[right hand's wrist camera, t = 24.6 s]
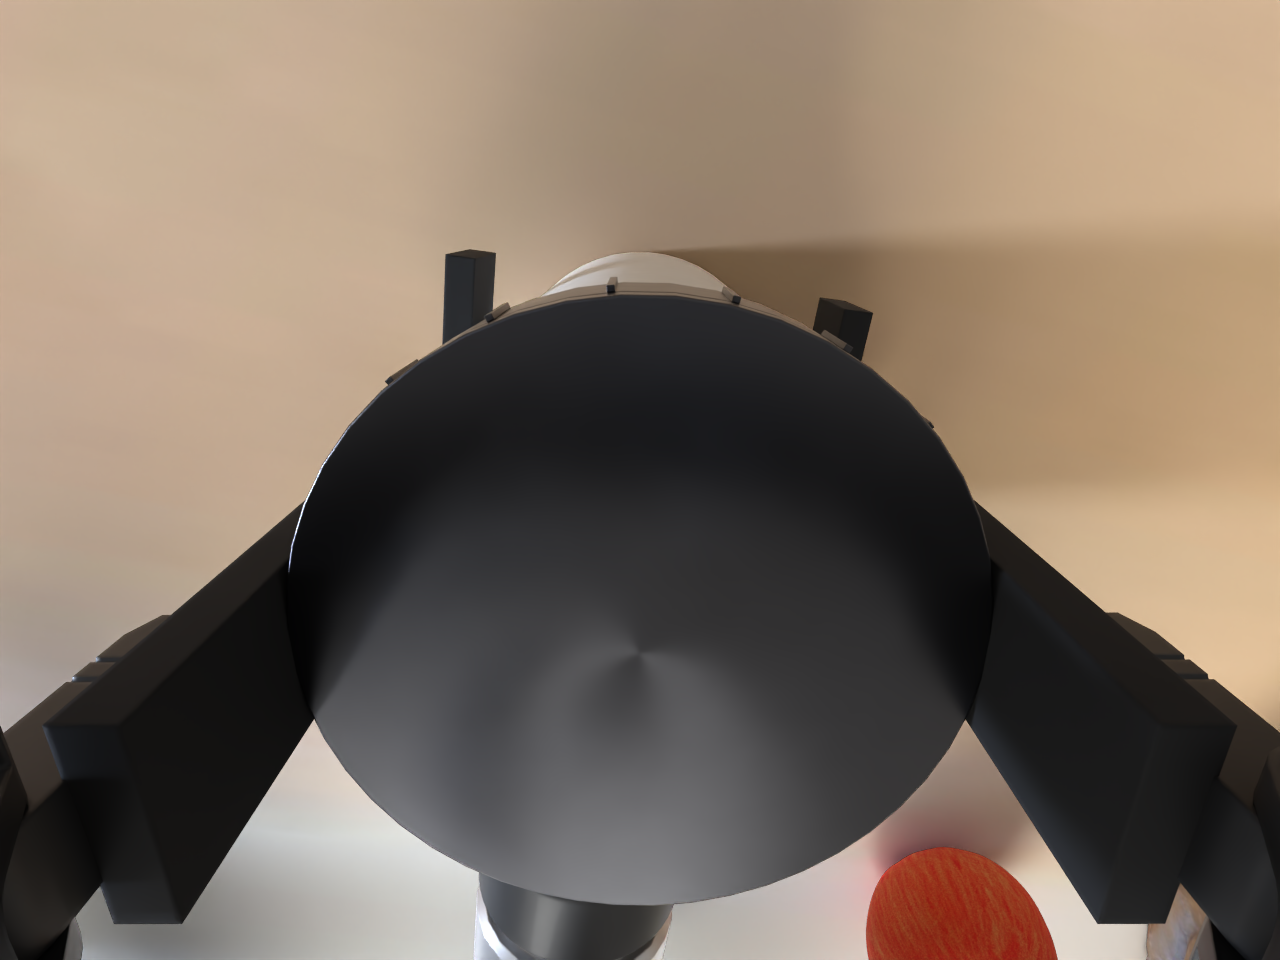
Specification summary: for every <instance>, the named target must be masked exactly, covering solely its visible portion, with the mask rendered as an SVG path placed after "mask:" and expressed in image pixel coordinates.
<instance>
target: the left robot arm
mask: <svg viewBox="0 0 1280 960" xmlns="http://www.w3.org/2000/svg"><path fill="white" fill-rule="evenodd" d="M495 259H496V253H492V252H485V251H478V250H471V249H469V250H464V251H459V252H455V253H450V254H446V259H445V288H444V317H443V344H445V343H446V342H448V341H449V340H451V339H452V338H454V337H456V336H457V335H459V334H461V333H463V332H464V331H466V330H468V329H469V328H471V327H473V326H475V325H476V324H478V323H480V322H481V321H483V320H485V317H484V316H485V315H486V314H488V313H490V312H491V311H493V294H494V276H495ZM872 315H873V313H872V312H870V311H867V310H865V309H862V308H860V307H858V306H855V305H853V304H851V303H848V302H846V301H841V300H834V299H826V298H820V299H819V304H818V308H817V313H816V318H815V322H814V327H813V330H814V331H815V332H817V333H818V334H820V335H821V334H822V332H823V331H824V330H826V331H827V332H829V333H830V334H832V335H834V336H835V337H837V338H838V339H840V340H842V341H843V342H845V343H846V344H848V345H850V346H851V347H853V349H852V350H851V352H850V353H849V354H850V355H852V356H853V357H855V358H856V359H858V360H859V361H861V360H862V356H863V352H864V348H865V344H866V340H867V336H868V331H869V327H870V323H871V319H872ZM672 907H673V904H667V905H655V906H644V905H609V904H600V903H591V902H582V901H574V900H569V899H565V898H560V897H555V896H550V895H545V894H541V893H536V892H533V891H530V890H527V889H524V888H521V887H517V886H514V885H511V884H508V883H505V882H501V881H499V880H497V879H494V878H492V877H490V876H487V875H485V874H482V873H480V872H479V887H478V891H477V906H476V924H475V943H474V960H662V959H663V955H664V950H665V946H666V941H667V937H668V933H669V928H670V924H671V918H672Z"/></svg>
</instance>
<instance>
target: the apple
mask: <svg viewBox="0 0 1280 960" xmlns="http://www.w3.org/2000/svg"><path fill="white" fill-rule="evenodd" d="M866 943H867V952H868V958H869V960H1058V959H1057V954H1056V950H1055V947H1054V943H1053V940H1052V937H1051V935H1050V932H1049V930H1048V928H1047V925H1046V923H1045V921H1044V919H1043V917H1042V915H1041V913H1040V911H1039V909H1038V907H1037V906H1036V904H1035V902H1034V901H1033V899H1032V898H1031V896H1030V895H1029V894H1028V892H1027V891H1026V890H1025V889H1024V888H1023V886H1022V885H1021V884H1020V883H1019V882H1018V881H1017V880H1016V879H1015V878H1014V877H1013V876H1012V875H1011V874H1009V873H1008V872H1007V871H1006V870H1005V869H1003V868H1002V867H1001V866H999V865H998V864H996V863H995V862H993V861H991V860H990V859H988V858H986V857H984V856H981V855H979V854H976V853H973V852H969V851H965V850H960V849H956V848H949V847H938V848H932V849H927V850H923V851H919V852H916V853H913V854H911V855H909V856H907V857H905V858H904V859H902V860H901V861H899V862H898V863H896V864H895V865H893V866H891V867H890V868H889V869H888V870H887V871H886V872H885V873H884V874H883V876H882V877H881V879H880V880H879V882H878V884H877V886H876V888H875V891H874V893H873V896H872V899H871V902H870V906H869V911H868V917H867V926H866Z"/></svg>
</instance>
